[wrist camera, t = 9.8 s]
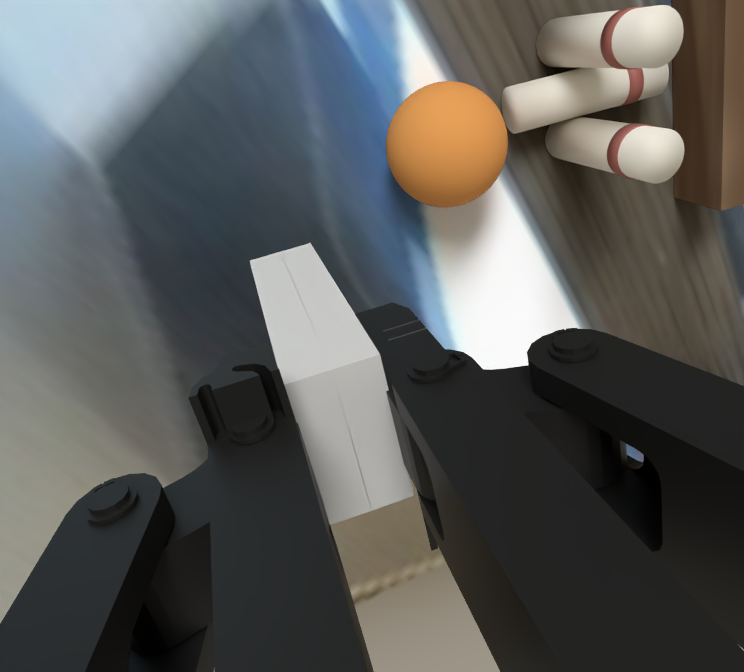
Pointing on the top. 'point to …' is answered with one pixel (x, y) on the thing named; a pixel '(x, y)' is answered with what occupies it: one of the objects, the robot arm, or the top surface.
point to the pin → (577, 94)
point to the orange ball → (446, 144)
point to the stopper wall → (710, 103)
